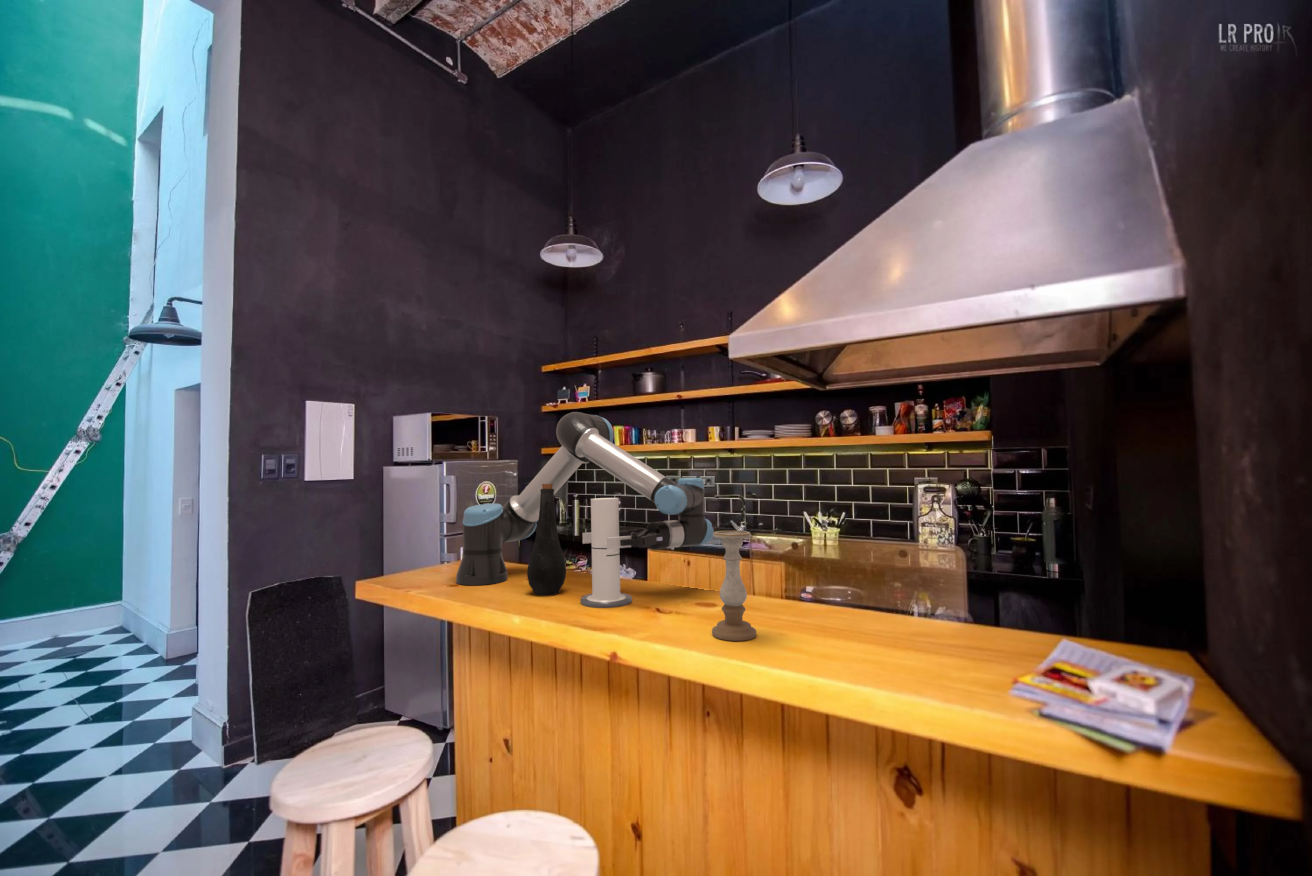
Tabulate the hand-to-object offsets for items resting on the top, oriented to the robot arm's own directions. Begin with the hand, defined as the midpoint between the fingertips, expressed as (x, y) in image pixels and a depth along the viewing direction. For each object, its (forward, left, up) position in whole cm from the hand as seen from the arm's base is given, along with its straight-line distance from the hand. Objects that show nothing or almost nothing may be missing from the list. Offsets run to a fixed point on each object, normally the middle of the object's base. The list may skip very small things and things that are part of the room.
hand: (594, 540), depth 133 cm
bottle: (-19, -5, -16) cm, 25 cm away
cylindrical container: (0, +3, -15) cm, 15 cm away
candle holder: (+40, +11, -16) cm, 44 cm away
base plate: (0, +3, -16) cm, 16 cm away
